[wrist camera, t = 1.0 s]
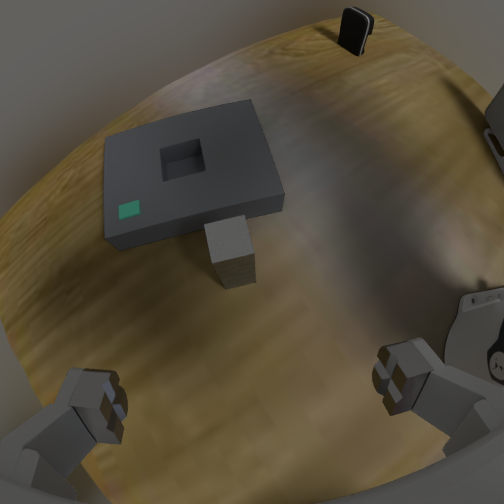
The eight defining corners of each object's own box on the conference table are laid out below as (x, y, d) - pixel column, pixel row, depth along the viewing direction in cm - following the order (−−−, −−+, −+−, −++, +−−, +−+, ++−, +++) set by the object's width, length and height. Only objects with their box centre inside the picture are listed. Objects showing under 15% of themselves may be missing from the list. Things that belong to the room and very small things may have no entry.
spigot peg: (248, 253, 41) (244, 214, 29) (256, 282, 39) (254, 253, 28) (219, 260, 40) (203, 224, 29) (225, 289, 39) (211, 263, 28)
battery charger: (368, 54, 55) (378, 16, 45) (357, 57, 55) (368, 18, 44) (346, 40, 57) (354, 3, 46) (336, 43, 57) (343, 5, 46)
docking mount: (251, 119, 48) (250, 97, 43) (282, 210, 42) (284, 191, 37) (116, 155, 47) (104, 136, 42) (119, 250, 41) (103, 237, 36)
